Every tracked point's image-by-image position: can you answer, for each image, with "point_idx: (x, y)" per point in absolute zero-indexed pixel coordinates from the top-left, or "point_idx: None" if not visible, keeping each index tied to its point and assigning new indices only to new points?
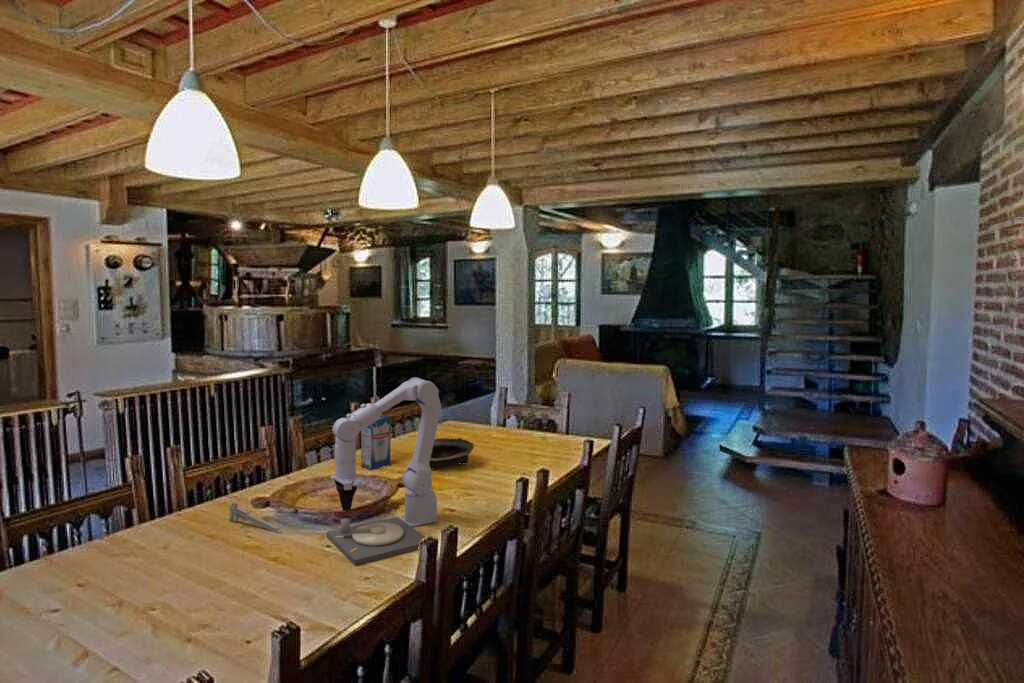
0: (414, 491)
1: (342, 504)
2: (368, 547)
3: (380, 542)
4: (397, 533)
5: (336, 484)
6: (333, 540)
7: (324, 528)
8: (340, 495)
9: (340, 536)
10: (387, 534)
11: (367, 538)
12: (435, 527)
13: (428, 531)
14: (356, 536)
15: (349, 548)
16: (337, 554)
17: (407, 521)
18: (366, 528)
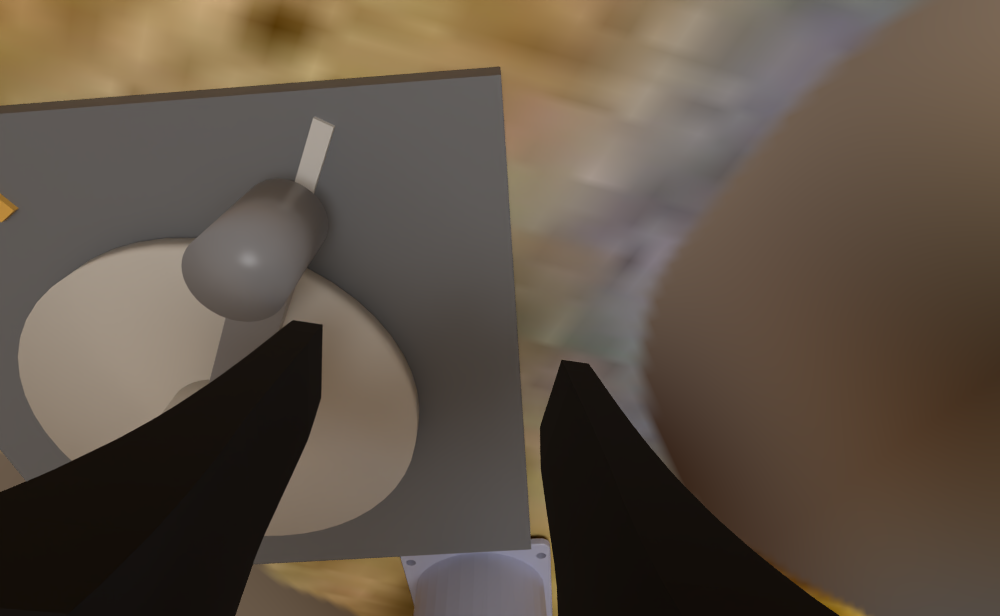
0: None
1: (231, 374)
2: (30, 295)
3: (29, 383)
4: None
5: (674, 612)
6: (295, 88)
7: (711, 106)
8: (33, 489)
9: (309, 164)
10: None
11: (103, 332)
12: (360, 609)
13: (320, 581)
14: (164, 273)
15: (22, 162)
16: (59, 51)
17: (458, 560)
18: (325, 377)
